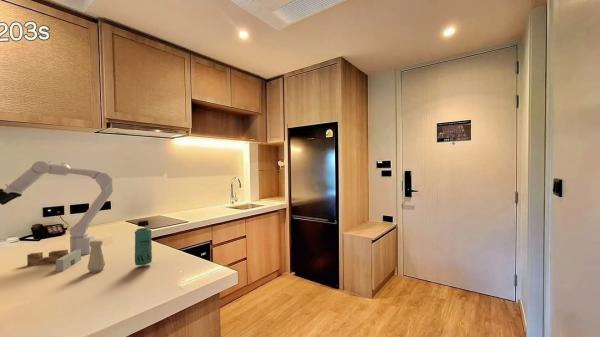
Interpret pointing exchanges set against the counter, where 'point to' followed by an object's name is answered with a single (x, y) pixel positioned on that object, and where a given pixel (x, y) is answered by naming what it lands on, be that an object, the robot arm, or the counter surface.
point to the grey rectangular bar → (68, 260)
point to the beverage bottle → (143, 244)
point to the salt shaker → (96, 257)
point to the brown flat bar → (39, 259)
